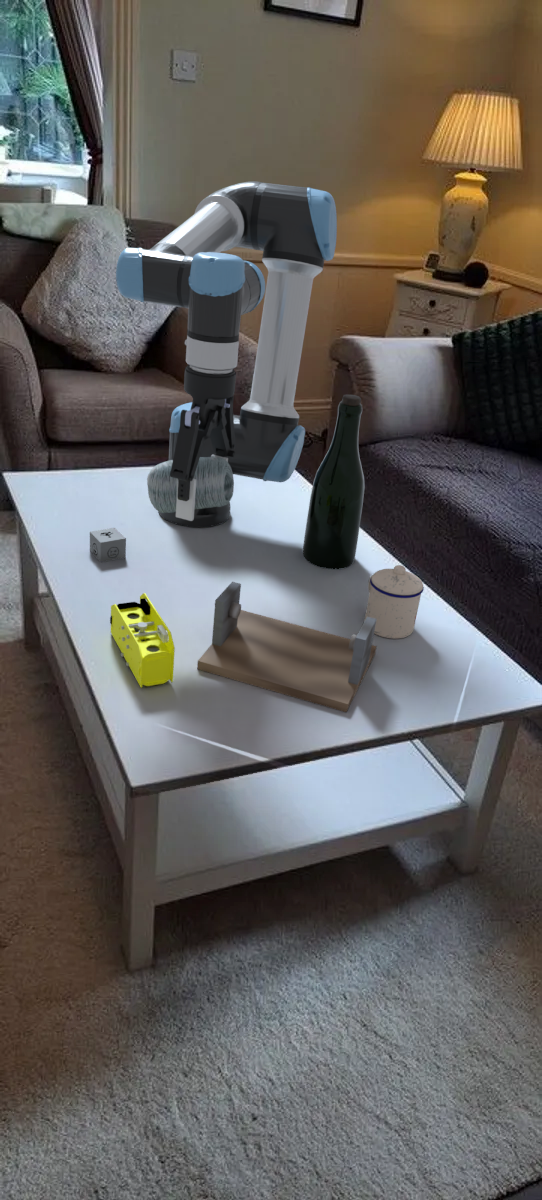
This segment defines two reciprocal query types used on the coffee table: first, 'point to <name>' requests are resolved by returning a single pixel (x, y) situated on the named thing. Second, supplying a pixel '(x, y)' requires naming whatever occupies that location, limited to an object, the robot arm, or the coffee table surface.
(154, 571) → the coffee table surface
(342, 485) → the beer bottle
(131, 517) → the coffee table surface
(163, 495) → the grey egg-shaped piece
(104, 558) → the dice cube
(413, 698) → the coffee table surface
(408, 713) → the coffee table surface
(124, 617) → the yellow toy chassis
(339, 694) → the roll holder
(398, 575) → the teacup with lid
